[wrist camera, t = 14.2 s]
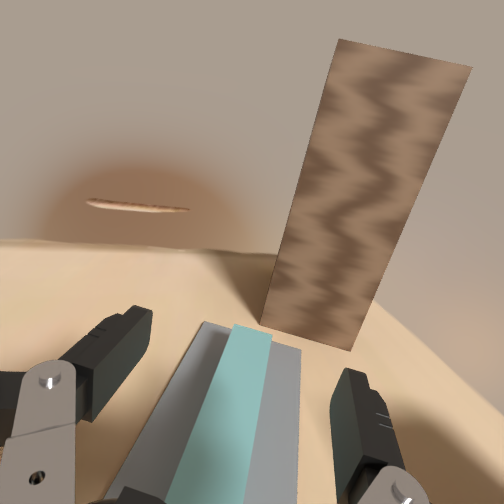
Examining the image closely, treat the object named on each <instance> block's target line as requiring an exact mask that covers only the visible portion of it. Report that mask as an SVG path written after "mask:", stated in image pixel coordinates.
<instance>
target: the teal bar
mask: <svg viewBox="0 0 504 504" xmlns="http://www.w3.org/2000/svg"><path fill="white" fill-rule="evenodd" d="M271 340H272V335H271V334H267V333H264V332H261V331H257V330H254V329H250V328H247V327H244V326H240V325H237V324H234V326H233V329H232V331H231V334H230V336H229V339H228V341H227V344H226V346H225V349H224V351H223V354H222V357H221V359H220V362H219V364H218V367H217V369H216V372H215V374H214V377H213V379H212V382H211V384H210V387H209V390H208V392H207V395H206V397H205V400H204V402H203V405H202V407H201V410H200V412H199V415H198V418H197V420H196V423H195V425H194V428H193V430H192V433H191V435H190V438H189V440H188V443H187V445H186V448H185V451H184V453H183V456H182V458H181V461H180V463H179V466H178V468H177V471H176V473H175V476H174V478H173V481H172V484H171V486H170V489H169V491H168V494H167V496H166V499H165V501H164V502H165V503H166V504H243V501H244V495H245V489H246V483H247V478H248V472H249V466H250V460H251V455H252V449H253V443H254V438H255V432H256V426H257V420H258V415H259V409H260V403H261V397H262V392H263V386H264V380H265V374H266V369H267V363H268V357H269V352H270V346H271Z"/></svg>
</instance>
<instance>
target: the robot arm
mask: <svg viewBox="0 0 504 504" xmlns="http://www.w3.org/2000/svg"><path fill="white" fill-rule="evenodd" d="M152 316H153V312H152V310H149V309H146V308H143V307H139V306H136V305H133V306H132V307H131V308H130V309H129V310H127V311H126V312H125V313H124V314H123V315H121V314H118V313H117V314H114V315H112V316H110V317H107V318H105V319H104V320H103V321H101V322H100V323H99V324H98V325H97V326H96V327H95V329H94V328H93V329H92V330H91V331H90V332H89V333H88V335H85V336H84V337H83V338H82V339H81V340H80V341H79V342H77V343H76V344H75V345H74V346H73V347H72V348H71V349H69V350H68V351H67V352H66V353H65V354H64V355H63V356H61V357H60V358H59V359H58V360H51V361H46V362H43V363H40V364H38V365H36V366H34V367H33V368H31V369H30V370H29V371H28V372H6V371H0V447H4V450H3V454H2V459H1V464H0V504H75V426H76V425H77V423H78V422H79V421H80V420H81V419H82V420H85V421H88V422H91V423H92V422H93V421H94V419H95V418H96V417H97V415H98V414H99V413H100V411H101V410H102V409H103V408H104V406H105V405H106V404H107V402H108V401H109V400H110V398H111V397H112V396H113V394H114V393H115V392H116V391H117V389H118V388H119V387H120V385H121V384H122V383H123V381H124V380H125V379H126V377H127V376H128V375H129V374H130V372H131V371H132V370H133V368H134V367H135V366H136V364H137V363H138V362H139V361H140V359H141V358H142V357H143V355H144V354H145V352H146V350H147V347H148V345H149V341H150V333H151V324H152ZM330 424H331V436H332V448H333V460H334V472H335V484H336V496H337V504H431V503H430V502H429V499H428V497H427V494H426V492H425V491H424V489H423V488H422V486H421V485H420V484H419V482H418V481H417V480H416V479H415V478H414V477H413V476H412V475H410V474H409V473H408V472H406V469H405V466H404V463H403V459H402V456H401V453H400V449H399V446H398V443H397V439H396V436H395V433H394V430H393V429H392V428H393V426H392V423H391V419H389V413H388V409H387V406H386V403H385V402H384V400H383V399H382V397H381V396H380V395H379V393H378V392H377V391H375V390H372V389H370V387H369V383H368V379H367V376H366V374H365V373H363V372H359V371H356V370H353V369H349V368H345V369H344V370H343V372H342V374H341V377H340V379H339V381H338V384H337V386H336V388H335V390H334V393H333V395H332V398H331V402H330ZM88 504H166V503H165V502H164V501H162V500H161V499H160V498H158V497H155V496H153V495H150V494H147V493H144V492H141V491H138V490H135V489H132V488H130V487H127V486H124V488H123V490H122V492H121V493H120V495H119V497H118V498H110V499H102V500H98V501H94V502H91V503H88Z"/></svg>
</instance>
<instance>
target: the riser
mask: <svg viewBox="0 0 504 504" xmlns="http://www.w3.org/2000/svg"><path fill="white" fill-rule="evenodd" d="M472 68H473V67H470V66H466V65H461V64H456V63H451V62H446V61H442V60H437V59H432V58H427V57H423V56H418V55H413V54H409V53H404V52H399V51H395V50H390V49H385V48H380V47H376V46H371V45H366V44H362V43H357V42H352V41H347V40H343V39H339V40H338V43H337V46H336V50H335V53H334V56H333V59H332V63H331V66H330V69H329V72H328V76H327V79H326V83H325V86H324V90H323V94H322V97H321V101H320V104H319V108H318V111H317V115H316V119H315V122H314V126H313V130H312V134H311V137H310V140H309V144H308V148H307V151H306V155H305V158H304V162H303V166H302V169H301V173H300V177H299V180H298V184H297V187H296V191H295V195H294V198H293V202H292V206H291V209H290V213H289V216H288V220H287V224H286V227H285V231H284V234H283V238H282V242H281V245H280V249H279V252H278V256H277V260H276V263H275V267H274V270H273V274H272V278H271V282H270V286H269V290H268V293H267V297H266V301H265V305H264V309H263V313H262V316H261V320H260V324H259V325H262V326H265V327H269V328H272V329H275V330H279V331H282V332H286V333H289V334H293V335H296V336H299V337H303V338H306V339H310V340H313V341H316V342H320V343H323V344H327V345H330V346H333V347H337V348H340V349H344V350H347V351H351V349H352V347H353V344H354V342H355V340H356V337H357V335H358V333H359V330H360V328H361V326H362V323H363V321H364V319H365V316H366V314H367V312H368V309H369V307H370V305H371V303H372V300H373V298H374V296H375V293H376V291H377V289H378V286H379V284H380V281H381V279H382V277H383V274H384V272H385V270H386V268H387V265H388V263H389V261H390V258H391V256H392V254H393V251H394V249H395V247H396V244H397V242H398V240H399V237H400V235H401V233H402V230H403V228H404V226H405V223H406V221H407V219H408V216H409V214H410V212H411V209H412V207H413V205H414V202H415V200H416V198H417V196H418V193H419V191H420V189H421V186H422V184H423V182H424V179H425V177H426V175H427V172H428V170H429V168H430V165H431V163H432V160H433V158H434V156H435V153H436V151H437V149H438V147H439V144H440V142H441V140H442V137H443V135H444V133H445V130H446V128H447V126H448V123H449V121H450V119H451V116H452V114H453V111H454V109H455V107H456V105H457V102H458V100H459V98H460V96H461V93H462V91H463V89H464V86H465V84H466V82H467V79H468V77H469V75H470V72H471V70H472Z"/></svg>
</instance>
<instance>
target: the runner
mask: <svg viewBox="0 0 504 504" xmlns="http://www.w3.org/2000/svg"><path fill="white" fill-rule="evenodd" d="M231 331H232V329H230V328H226V327H223V326H219V325H216V324H213V323H209V322H206V321H204V323H203V325H202V327H201V328H200V330H199V332H198V334H197V336H196V337H195V339H194V341H193V343H192V344H191V346H190V348H189V350H188V351H187V353H186V355H185V357H184V358H183V360H182V362H181V364H180V365H179V367H178V369H177V371H176V372H175V374H174V376H173V378H172V379H171V381H170V383H169V385H168V386H167V388H166V390H165V392H164V393H163V395H162V397H161V399H160V400H159V402H158V404H157V406H156V407H155V409H154V411H153V413H152V414H151V416H150V418H149V420H148V421H147V423H146V425H145V427H144V428H143V430H142V432H141V434H140V435H139V437H138V439H137V441H136V442H135V444H134V446H133V448H132V449H131V451H130V453H129V455H128V456H127V458H126V460H125V462H124V463H123V465H122V467H121V469H120V470H119V472H118V474H117V476H116V477H115V479H114V481H113V483H112V484H111V486H110V488H109V490H108V491H107V493H106V495H105V497H104V498H103V499H110V498H118V497H119V495H120V493H121V492H122V490H123V488H124V486H127V487H130V488H132V489H135V490H138V491H141V492H144V493H147V494H150V495H153V496H155V497H158V498H160V499H161V500H162V501H165V499H166V496H167V494H168V491H169V489H170V486H171V484H172V481H173V478H174V476H175V473H176V471H177V468H178V466H179V463H180V461H181V458H182V456H183V453H184V451H185V448H186V445H187V443H188V440H189V438H190V435H191V433H192V430H193V428H194V425H195V423H196V420H197V418H198V415H199V412H200V410H201V407H202V405H203V402H204V400H205V397H206V395H207V392H208V390H209V387H210V384H211V382H212V379H213V377H214V374H215V372H216V369H217V367H218V364H219V362H220V359H221V357H222V354H223V351H224V349H225V346H226V344H227V341H228V339H229V336H230V334H231ZM300 373H301V350H300V349H297V348H294V347H290V346H287V345H283V344H280V343H277V342H273V341H271V346H270V352H269V357H268V363H267V369H266V374H265V380H264V386H263V392H262V397H261V403H260V409H259V415H258V420H257V426H256V432H255V438H254V443H253V449H252V455H251V460H250V466H249V472H248V478H247V483H246V489H245V495H244V501H243V504H297V477H298V443H299V408H300Z"/></svg>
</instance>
